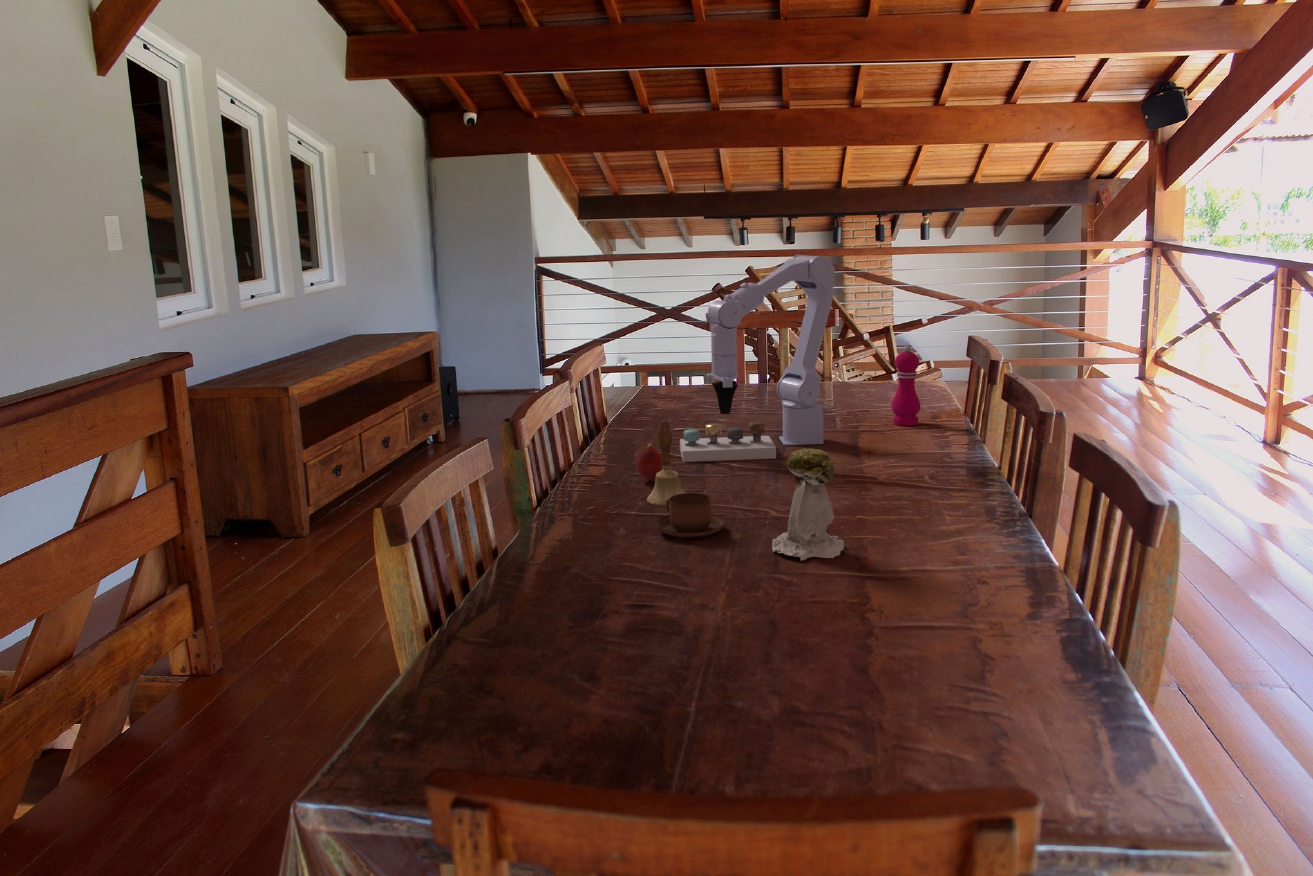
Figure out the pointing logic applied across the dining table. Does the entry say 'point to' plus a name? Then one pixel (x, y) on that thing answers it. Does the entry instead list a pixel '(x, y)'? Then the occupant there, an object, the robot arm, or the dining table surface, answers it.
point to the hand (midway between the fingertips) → (724, 413)
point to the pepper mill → (906, 389)
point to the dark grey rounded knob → (735, 435)
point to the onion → (649, 463)
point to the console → (728, 449)
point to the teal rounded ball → (691, 436)
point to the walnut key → (756, 430)
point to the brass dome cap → (713, 432)
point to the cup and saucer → (690, 516)
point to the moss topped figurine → (809, 508)
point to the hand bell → (665, 471)
